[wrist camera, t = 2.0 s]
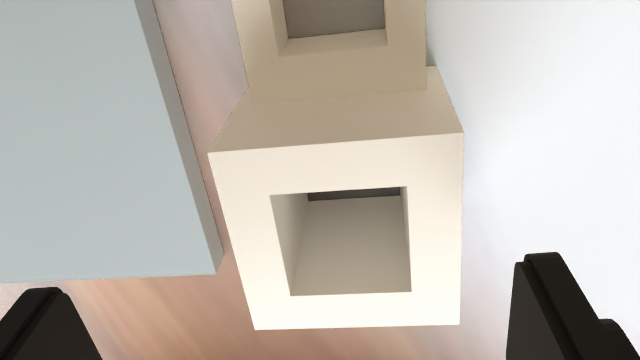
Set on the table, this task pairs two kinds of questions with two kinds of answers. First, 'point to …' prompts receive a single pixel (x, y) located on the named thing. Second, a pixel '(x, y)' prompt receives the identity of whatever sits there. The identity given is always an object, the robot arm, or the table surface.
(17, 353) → the robot arm
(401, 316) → the cream stepped socket block
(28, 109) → the post board
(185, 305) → the table surface
